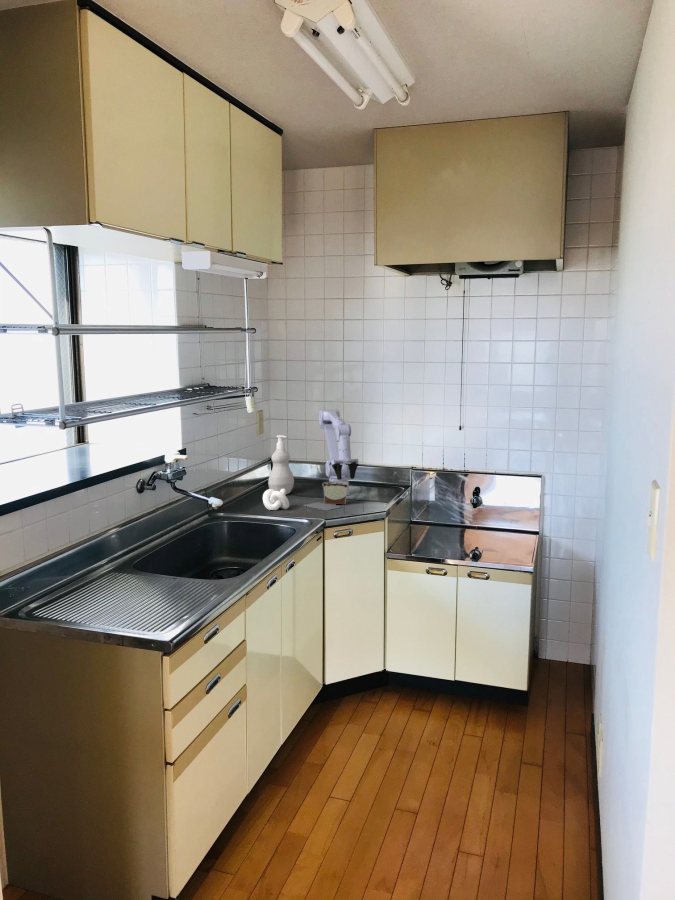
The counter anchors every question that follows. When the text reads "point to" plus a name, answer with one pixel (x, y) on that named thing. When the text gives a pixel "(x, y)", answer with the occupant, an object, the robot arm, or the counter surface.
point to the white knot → (275, 499)
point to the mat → (322, 506)
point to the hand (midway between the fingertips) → (346, 479)
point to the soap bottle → (281, 469)
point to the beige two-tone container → (335, 492)
